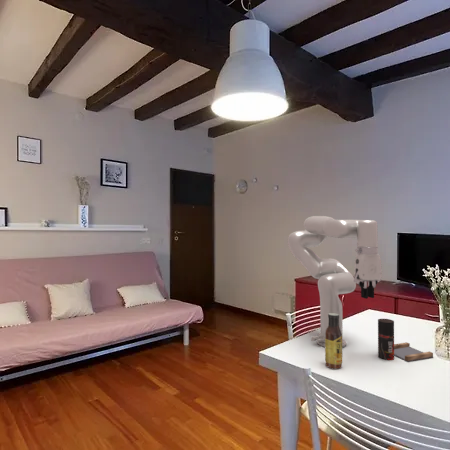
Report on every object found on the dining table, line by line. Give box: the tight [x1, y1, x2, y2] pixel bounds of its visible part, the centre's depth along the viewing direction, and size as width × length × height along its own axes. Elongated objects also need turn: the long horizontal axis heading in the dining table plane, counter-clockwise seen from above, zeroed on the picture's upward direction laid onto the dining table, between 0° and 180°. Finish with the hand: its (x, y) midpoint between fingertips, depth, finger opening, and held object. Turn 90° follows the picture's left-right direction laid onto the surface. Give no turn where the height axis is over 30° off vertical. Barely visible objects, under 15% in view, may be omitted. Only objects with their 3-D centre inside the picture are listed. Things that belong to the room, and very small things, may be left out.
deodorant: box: [377, 318, 395, 361], centre depth 140 cm, size 6×6×15 cm
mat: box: [394, 346, 434, 363], centre depth 144 cm, size 13×13×1 cm
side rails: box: [394, 342, 434, 363], centre depth 144 cm, size 13×13×2 cm
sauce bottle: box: [324, 313, 343, 370], centre depth 132 cm, size 7×6×20 cm
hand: (367, 297), depth 137 cm, fingers closed
